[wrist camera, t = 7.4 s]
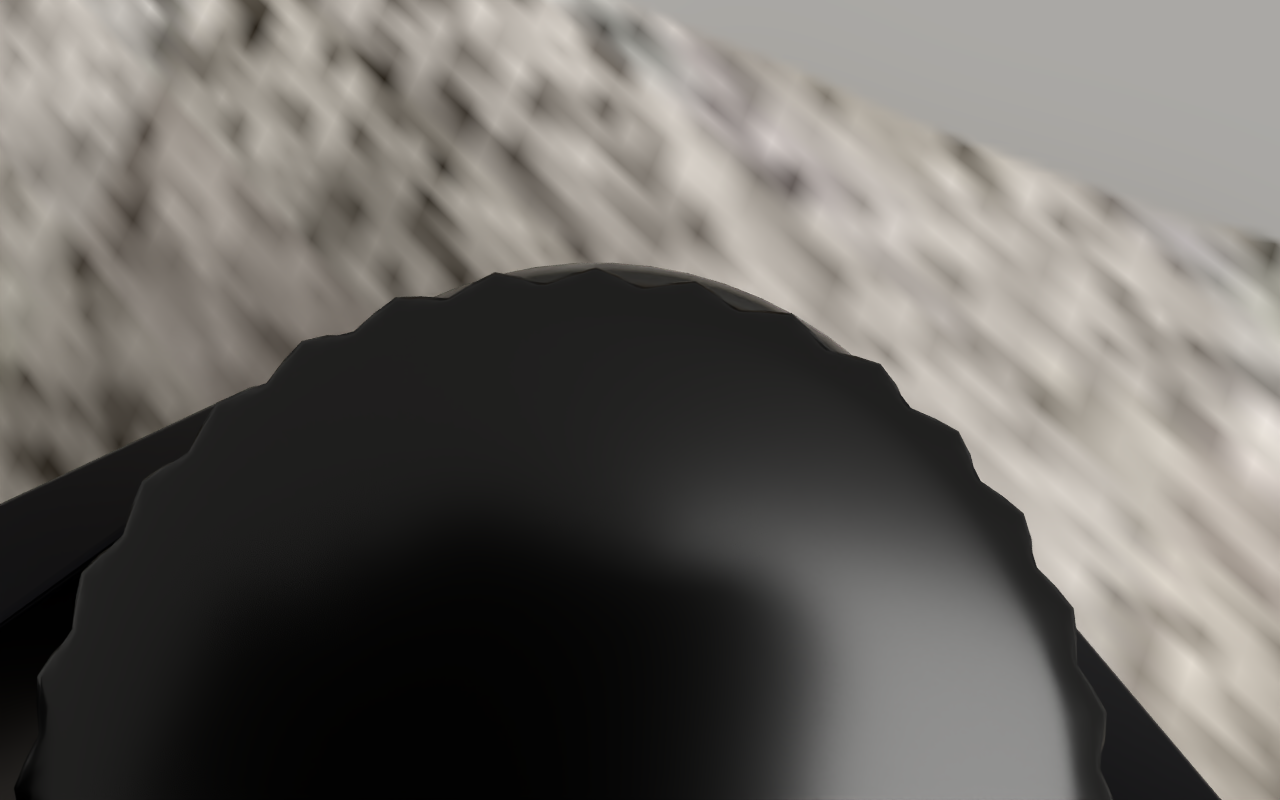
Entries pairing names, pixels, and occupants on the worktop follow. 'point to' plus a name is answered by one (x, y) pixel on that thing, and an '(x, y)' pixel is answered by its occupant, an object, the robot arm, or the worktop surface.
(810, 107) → the worktop surface
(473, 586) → the supplement bottle
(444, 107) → the worktop surface
